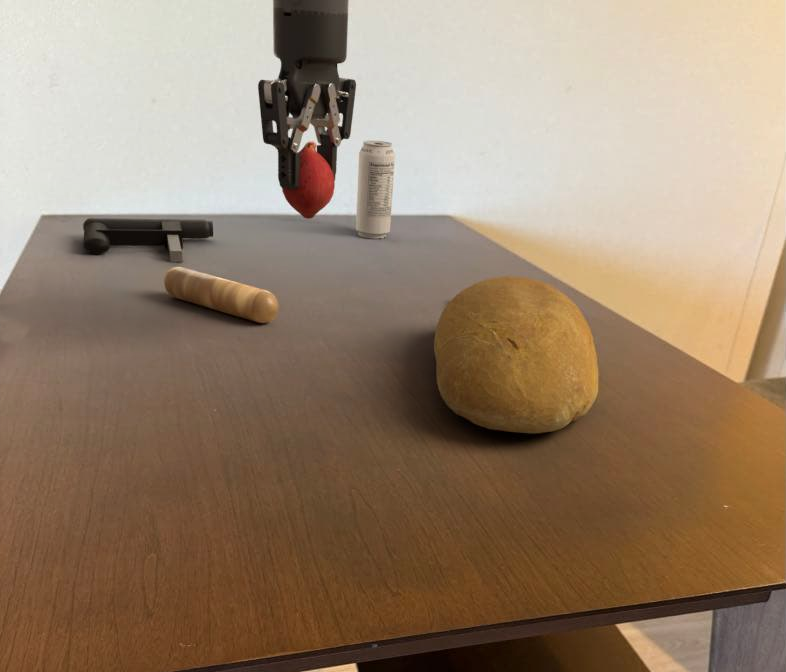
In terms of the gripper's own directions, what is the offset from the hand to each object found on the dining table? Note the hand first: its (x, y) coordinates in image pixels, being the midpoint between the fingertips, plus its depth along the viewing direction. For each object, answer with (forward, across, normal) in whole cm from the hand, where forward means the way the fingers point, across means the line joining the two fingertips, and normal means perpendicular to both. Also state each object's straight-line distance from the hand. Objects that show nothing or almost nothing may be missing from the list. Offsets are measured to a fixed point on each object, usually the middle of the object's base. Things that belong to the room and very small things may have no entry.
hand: (307, 184), depth 94 cm
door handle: (+18, -15, -42) cm, 48 cm away
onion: (+4, 0, 0) cm, 4 cm away
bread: (+17, -4, +26) cm, 32 cm away
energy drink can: (+17, -50, -24) cm, 58 cm away
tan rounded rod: (+17, 0, -14) cm, 22 cm away
